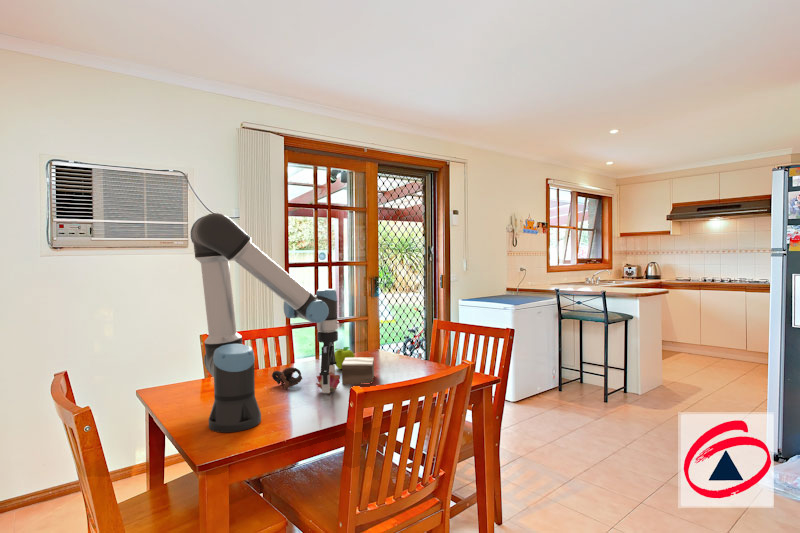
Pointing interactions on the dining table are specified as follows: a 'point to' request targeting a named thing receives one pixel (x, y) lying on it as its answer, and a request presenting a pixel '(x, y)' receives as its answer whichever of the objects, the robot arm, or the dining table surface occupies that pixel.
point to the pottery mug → (287, 377)
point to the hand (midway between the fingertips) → (328, 387)
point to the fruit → (342, 356)
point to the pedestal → (358, 370)
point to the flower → (333, 382)
